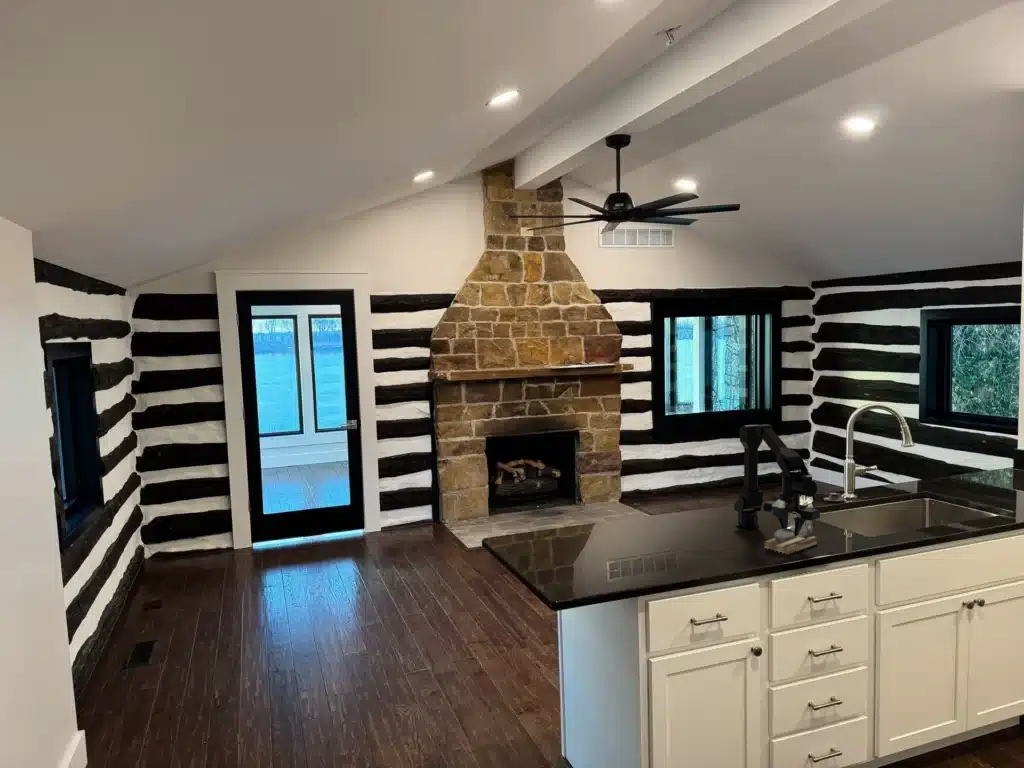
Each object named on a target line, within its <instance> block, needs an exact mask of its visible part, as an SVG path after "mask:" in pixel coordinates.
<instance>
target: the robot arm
mask: <svg viewBox="0 0 1024 768" xmlns="http://www.w3.org/2000/svg"><path fill="white" fill-rule="evenodd" d="M738 435H739V442H740V443H741V446H743V486H742V487H741V489H740V491H739V495H738V499H737V500H736V502H735V503H734V504H733V509H734V511H735V512H737V514H738V515H737V518H738V519H737V520H738V521H737V523H738V524H735V527H737V528H741V527H742V528H741V529H745V528H747V529H746V530H753V529H756V528H759V527H760V524H759V516H758V512H761V511H763V512H768V513H771V512H772V515H773V516H775V517H776V518H777V519H778V522H779V523H780V526H781V529H784V528H787V527H788V525H789V522H788V521H789V513H790V514H794V515H796V516H795V517H793V518H792V519H793V521H794V525H795V536H797V537H799V536H798V534H799V532H800V530H801V528H802V526H803V524H804V525H805V522H806V521H811V522H812V521H815V520H817V519H820V518H821V513H820V511H819V509H816V508H810V507H809V508H805V509H804V510H801V509H800V508H802V505H803V504H801V501H800V499H801V498H800V497H803V496H804V497H807V498H812V497H814V496H815V495H816V494H817V493H818V492H817V491H818V485H817V483H816V482H815V480H813V476H811V475H810V472H809V469H808V467H807V466H806V464H805V461H804V459H803V457H802V456H801V455H800V453H798V452H797V451H795V450H794V449H790V448H789V447H788V446H787V445H786V444H785V442H784V441H783V440H782V439H781V438H780V436H779V435H778V434H777V433H776V432H775V430H774V429H773V426H772V425H770V424H747V425H742V426H741V427H740V428H739V430H738ZM763 442H765V444H766V445H767V447H768V448H769V449H770V450H771V451H772V453H773V454H774V455H775V457H776V463H777V466H778V467H779V469H780V470H781V471H780V472H779V474H778V476H779V477H782V480H781V481H782V483H781V485H782V489H781V490H782V491H781V493H780V494H779V496H780V498H779V500H777V501H772V500H771V501H770V500H769V501H766V502H764V492H763V491H762V490H761V489H760V487H759V485H758V484H759V482H758V481H759V479H758V478H759V477H758V476H759V474H758V473H759V470H758V468H759V465H758V463H759V448H760V446H761V444H762V443H763ZM763 502H764V503H763ZM758 526H759V527H758ZM755 527H756V528H755ZM752 528H753V529H752Z"/></svg>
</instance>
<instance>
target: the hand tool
mask: <svg viewBox="0 0 1024 768" xmlns="http://www.w3.org/2000/svg"><path fill="white" fill-rule="evenodd" d="M779 498H780V495H778V494H773V495H772V497H771V501H777V500H779ZM801 505H802V508H800V509H801V510H804V509H806V506H805V505H804V504H801Z"/></svg>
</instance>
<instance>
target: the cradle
mask: <svg viewBox="0 0 1024 768" xmlns="http://www.w3.org/2000/svg"><path fill="white" fill-rule="evenodd" d="M817 540H818V537H817V536H814V535H812V536H809V537H807V538H805V537H801V536H797V537H794V538H791V539H789V540H786V541H783V542H778V541H776V539H775V538H774V537H773V538H771V539H768V540H766V541H764V549H765V548H767V549H766V550H768V549H771V550H770V551H772V550H774V551H773V552H776V551H778V552H777V553H780V552H782V553H781V554H784V553H786V554H785V555H787V554H788V555H790V553H791V554H794V553H796V552H799V551H801V549H802V550H804V548H805V549H807V548H810V547H813V546H815V545H818V543H817V542H818V541H817ZM795 551H796V552H795ZM793 552H794V553H793Z"/></svg>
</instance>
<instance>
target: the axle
mask: <svg viewBox="0 0 1024 768" xmlns="http://www.w3.org/2000/svg"><path fill="white" fill-rule="evenodd" d="M807 530H808V528H807V525H806V524H805V523H804V524H803V526H802V528H801V530H800V532H799V534H798V536H795V524H793V525H789V526H787V528H784V529H782V528H781V529H777V530H776V531H774V533H773V539H774V538H775V539H776V541H778V542H783V541H786V540H789V539H791V538H794V537H801V536H802V535H805V534H806V533H808V532H807Z"/></svg>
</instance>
